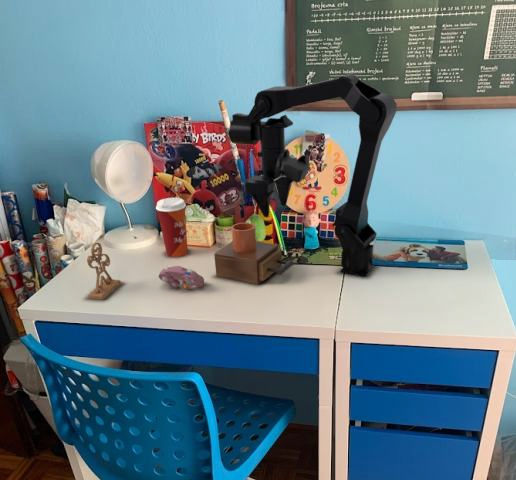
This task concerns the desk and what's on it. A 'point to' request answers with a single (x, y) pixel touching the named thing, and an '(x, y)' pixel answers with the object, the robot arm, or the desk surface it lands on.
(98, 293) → the wooden figurine
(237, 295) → the desk surface
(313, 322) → the desk surface
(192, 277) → the purple toy car
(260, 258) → the cabinet
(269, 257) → the drawer
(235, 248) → the cup
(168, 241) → the paper cup
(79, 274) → the desk surface
